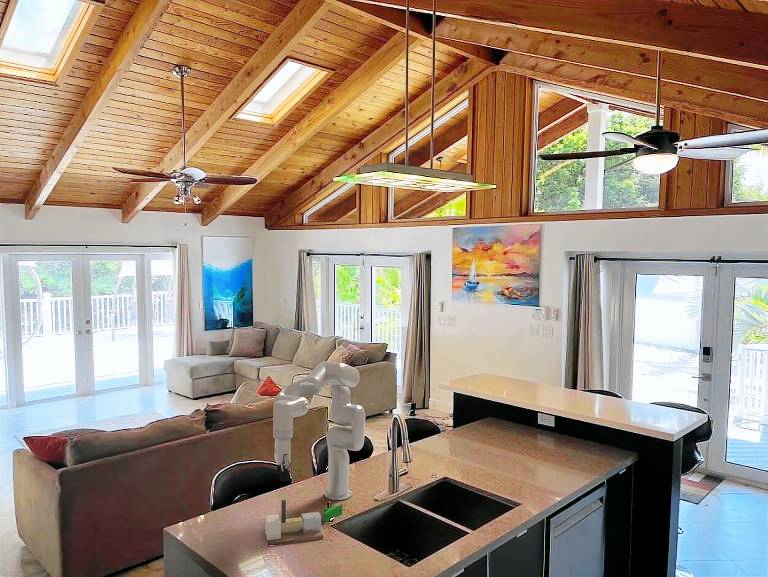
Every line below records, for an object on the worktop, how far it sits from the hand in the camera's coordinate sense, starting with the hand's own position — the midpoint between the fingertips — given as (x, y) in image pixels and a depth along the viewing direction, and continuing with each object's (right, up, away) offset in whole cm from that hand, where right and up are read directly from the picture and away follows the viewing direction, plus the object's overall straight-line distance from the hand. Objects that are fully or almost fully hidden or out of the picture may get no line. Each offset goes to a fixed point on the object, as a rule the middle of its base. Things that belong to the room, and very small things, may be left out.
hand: (283, 476), depth 223 cm
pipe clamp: (+17, -24, +18) cm, 34 cm away
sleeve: (+10, -23, +4) cm, 25 cm away
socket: (-4, -23, 0) cm, 23 cm away
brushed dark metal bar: (+2, -21, +2) cm, 21 cm away
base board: (+4, -24, +2) cm, 24 cm away
